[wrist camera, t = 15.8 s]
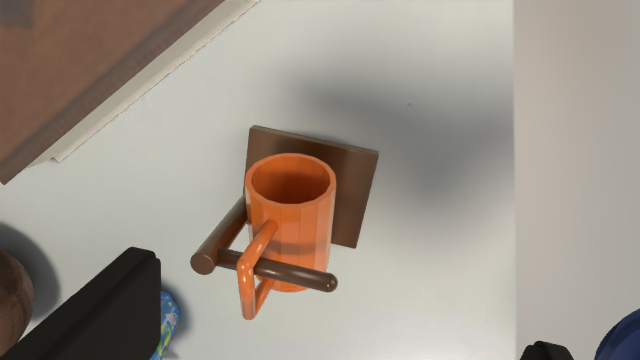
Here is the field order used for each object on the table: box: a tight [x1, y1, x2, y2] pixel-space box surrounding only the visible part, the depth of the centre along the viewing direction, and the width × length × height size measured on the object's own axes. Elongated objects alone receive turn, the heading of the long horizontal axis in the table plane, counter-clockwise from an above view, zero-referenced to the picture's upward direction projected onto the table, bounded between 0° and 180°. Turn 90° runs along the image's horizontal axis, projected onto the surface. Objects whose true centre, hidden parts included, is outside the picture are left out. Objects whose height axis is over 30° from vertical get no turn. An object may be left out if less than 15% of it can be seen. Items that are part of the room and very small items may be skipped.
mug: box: [236, 153, 337, 320], centre depth 29 cm, size 11×6×9 cm
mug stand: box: [190, 126, 379, 292], centre depth 31 cm, size 12×10×15 cm
